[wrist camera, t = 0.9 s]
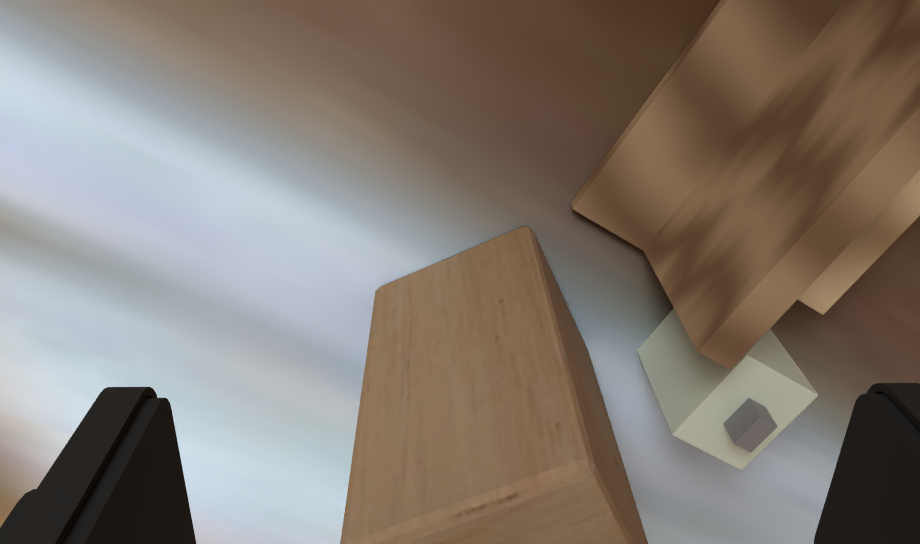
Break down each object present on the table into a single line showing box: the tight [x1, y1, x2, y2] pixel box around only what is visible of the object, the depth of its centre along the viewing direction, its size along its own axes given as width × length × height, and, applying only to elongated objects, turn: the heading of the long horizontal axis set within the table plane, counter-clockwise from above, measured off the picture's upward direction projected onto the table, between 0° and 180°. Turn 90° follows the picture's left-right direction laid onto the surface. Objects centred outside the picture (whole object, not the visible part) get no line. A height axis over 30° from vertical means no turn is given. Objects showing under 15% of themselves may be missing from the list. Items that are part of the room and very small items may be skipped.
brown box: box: [570, 0, 920, 370], centre depth 36 cm, size 18×14×11 cm
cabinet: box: [637, 308, 818, 470], centre depth 43 cm, size 6×5×10 cm
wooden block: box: [340, 226, 648, 544], centre depth 38 cm, size 10×10×20 cm
